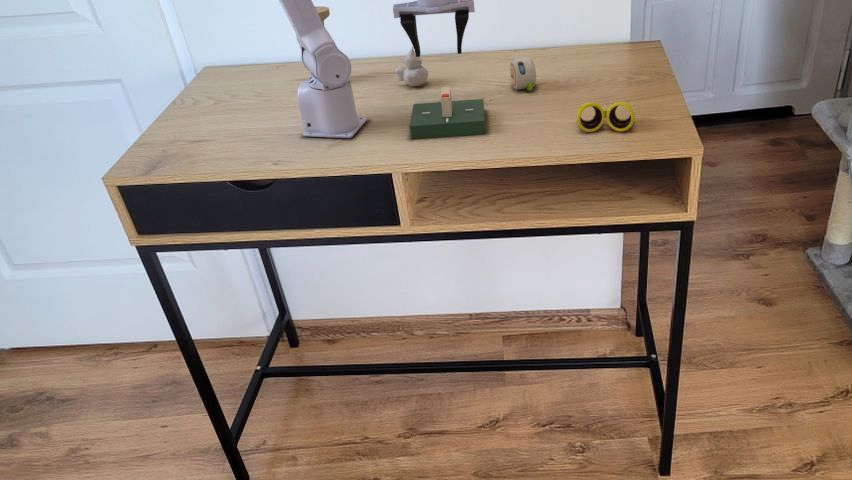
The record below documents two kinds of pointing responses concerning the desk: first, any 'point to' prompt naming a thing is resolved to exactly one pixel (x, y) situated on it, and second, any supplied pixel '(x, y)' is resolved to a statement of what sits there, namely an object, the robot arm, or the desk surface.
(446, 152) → the desk surface
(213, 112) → the desk surface
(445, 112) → the red topped block
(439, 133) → the console
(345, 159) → the desk surface
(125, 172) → the desk surface
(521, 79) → the roller toy
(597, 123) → the opera glasses
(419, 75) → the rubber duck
